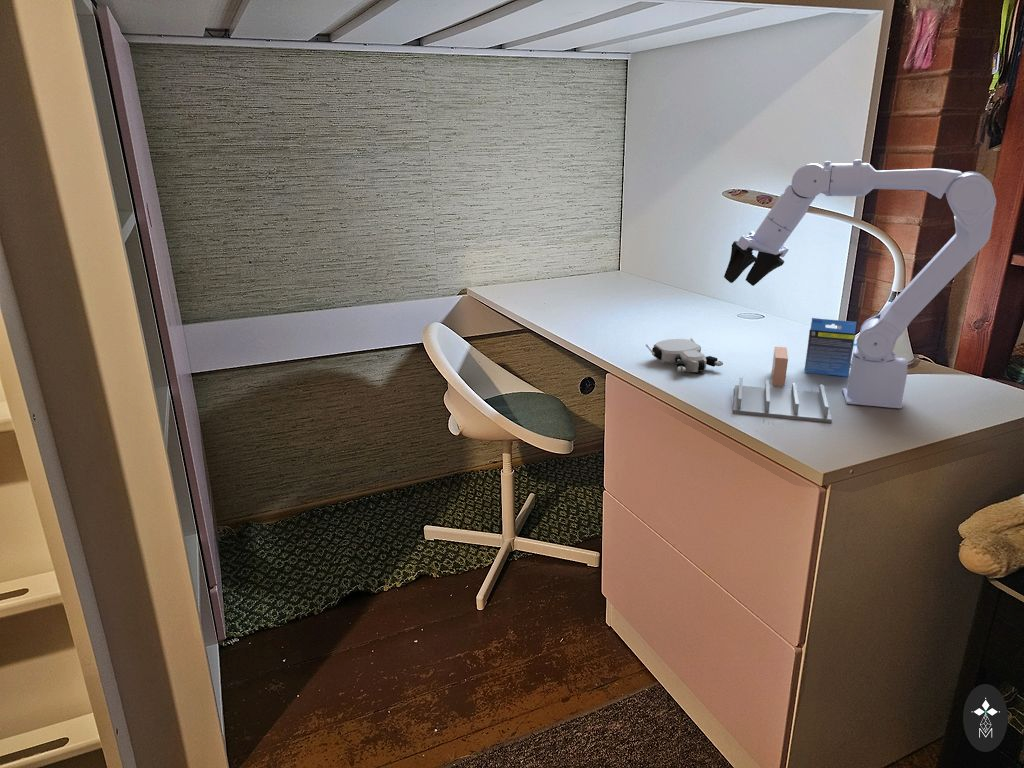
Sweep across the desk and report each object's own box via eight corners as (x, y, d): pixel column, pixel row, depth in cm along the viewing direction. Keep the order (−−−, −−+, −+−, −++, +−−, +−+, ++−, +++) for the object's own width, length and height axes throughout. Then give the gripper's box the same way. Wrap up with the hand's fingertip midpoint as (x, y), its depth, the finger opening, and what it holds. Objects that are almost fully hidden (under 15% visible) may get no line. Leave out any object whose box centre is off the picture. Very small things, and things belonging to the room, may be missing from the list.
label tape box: (848, 372, 149) (857, 317, 145) (848, 378, 146) (857, 321, 142) (804, 367, 153) (811, 313, 149) (803, 373, 149) (811, 318, 145)
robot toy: (725, 376, 152) (688, 352, 165) (728, 357, 150) (690, 334, 163) (676, 383, 148) (642, 358, 161) (679, 364, 146) (644, 340, 159)
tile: (783, 373, 149) (786, 347, 147) (784, 386, 142) (788, 358, 140) (771, 372, 150) (774, 346, 148) (772, 385, 143) (775, 357, 141)
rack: (824, 395, 137) (826, 383, 136) (831, 422, 124) (833, 409, 123) (735, 387, 142) (736, 375, 141) (732, 412, 129) (734, 400, 128)
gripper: (785, 217, 139) (745, 273, 146) (744, 206, 130) (704, 267, 137) (810, 236, 135) (768, 292, 142) (770, 226, 126) (728, 287, 133)
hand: (738, 281), depth 139 cm, fingers open, 7 cm apart
